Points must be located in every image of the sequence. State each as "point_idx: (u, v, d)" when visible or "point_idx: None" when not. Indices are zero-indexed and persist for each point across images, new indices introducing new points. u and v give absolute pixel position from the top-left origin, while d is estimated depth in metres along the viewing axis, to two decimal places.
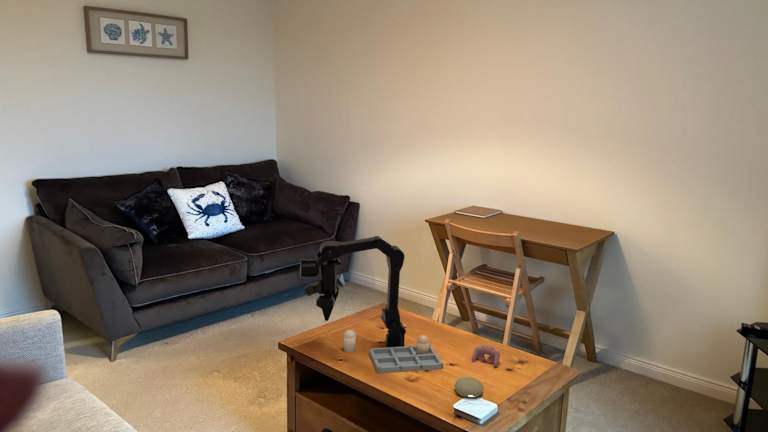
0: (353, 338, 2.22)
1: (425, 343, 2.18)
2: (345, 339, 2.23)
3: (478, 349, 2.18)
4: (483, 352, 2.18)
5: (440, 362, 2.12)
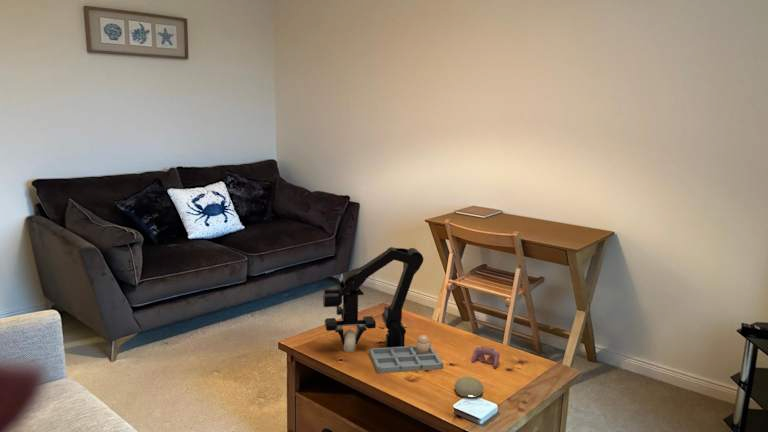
0: (353, 338, 2.22)
1: (425, 343, 2.18)
2: (345, 339, 2.23)
3: (478, 350, 2.18)
4: (483, 353, 2.17)
5: (440, 362, 2.12)
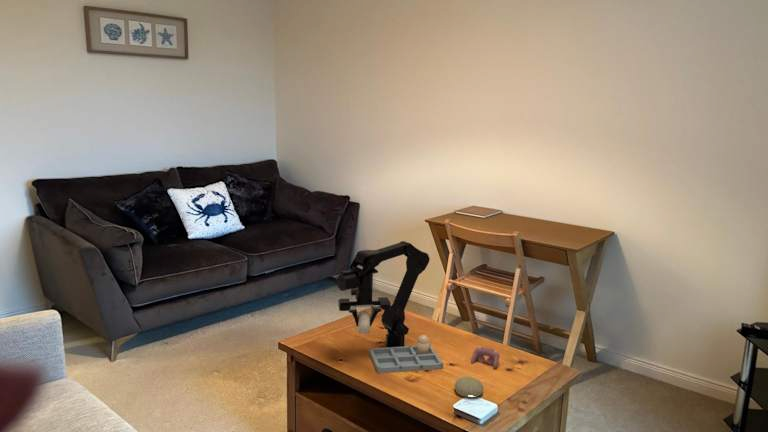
0: (367, 319, 2.15)
1: (425, 343, 2.18)
2: (359, 320, 2.15)
3: (477, 350, 2.17)
4: (482, 353, 2.17)
5: (440, 362, 2.12)
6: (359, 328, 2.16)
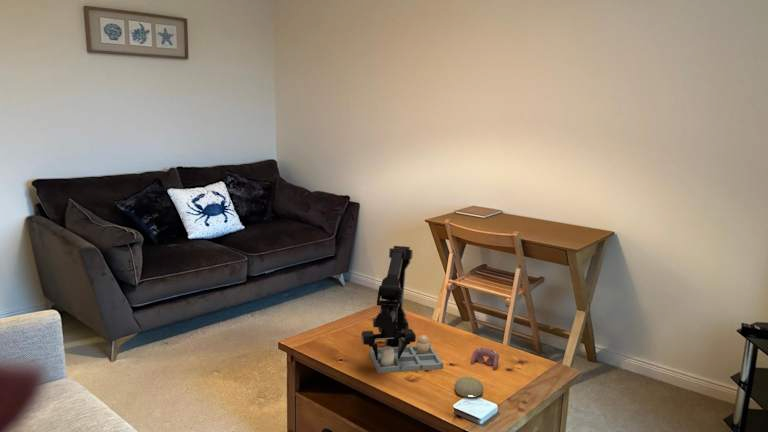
0: (392, 355, 2.08)
1: (425, 343, 2.18)
2: (383, 356, 2.08)
3: (477, 351, 2.17)
4: (482, 354, 2.16)
5: (440, 362, 2.12)
6: (383, 364, 2.09)
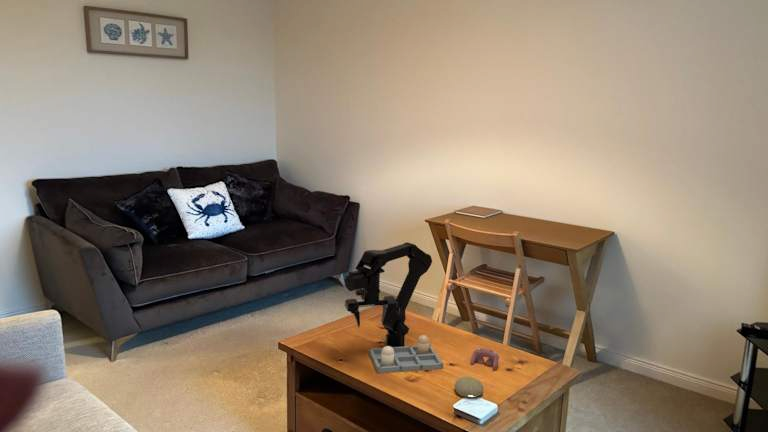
0: (392, 355, 2.08)
1: (425, 343, 2.18)
2: (383, 356, 2.08)
3: (477, 352, 2.16)
4: (482, 355, 2.15)
5: (440, 362, 2.12)
6: (383, 364, 2.09)
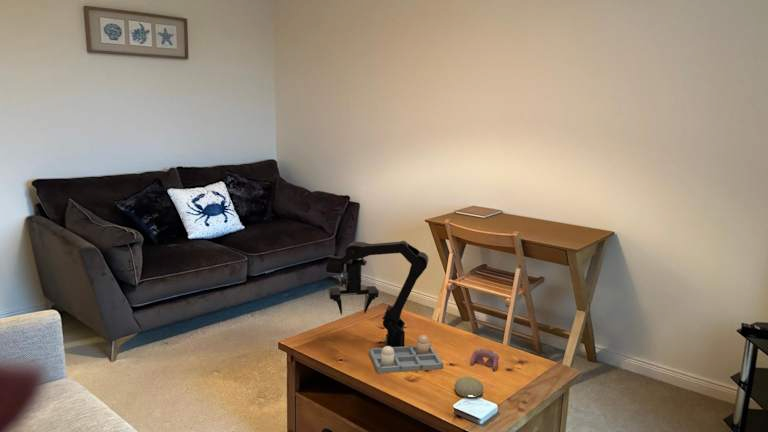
0: (392, 355, 2.08)
1: (425, 343, 2.18)
2: (383, 356, 2.08)
3: (477, 352, 2.16)
4: (482, 355, 2.15)
5: (440, 362, 2.12)
6: (383, 364, 2.09)
